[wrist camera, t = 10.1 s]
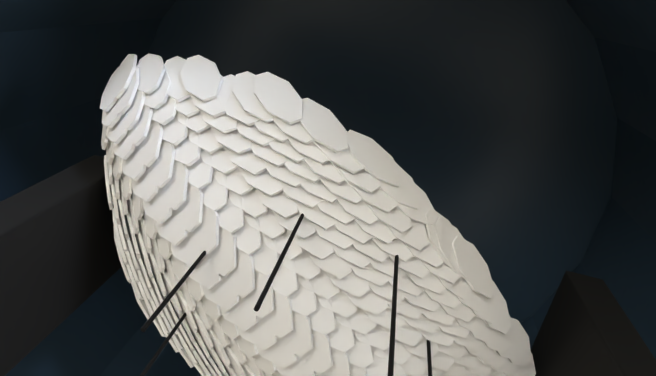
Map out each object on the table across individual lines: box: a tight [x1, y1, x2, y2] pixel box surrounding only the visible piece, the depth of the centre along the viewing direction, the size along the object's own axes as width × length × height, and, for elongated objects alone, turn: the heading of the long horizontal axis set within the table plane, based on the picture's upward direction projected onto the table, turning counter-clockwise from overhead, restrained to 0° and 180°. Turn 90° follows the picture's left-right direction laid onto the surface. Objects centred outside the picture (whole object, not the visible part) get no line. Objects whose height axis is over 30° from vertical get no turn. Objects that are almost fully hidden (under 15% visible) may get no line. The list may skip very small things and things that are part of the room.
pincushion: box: [100, 53, 536, 376], centre depth 9 cm, size 12×6×6 cm, turn 44°
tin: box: [0, 0, 656, 376], centre depth 13 cm, size 18×18×8 cm
